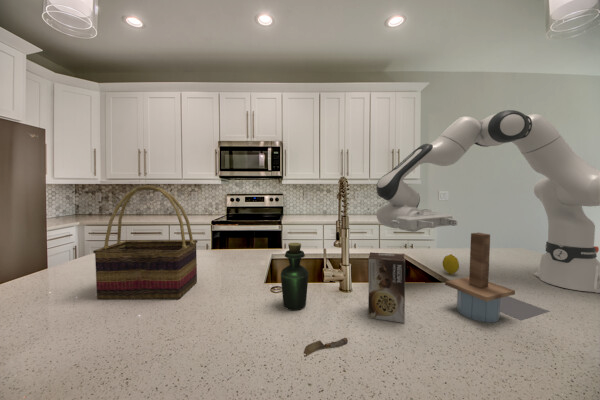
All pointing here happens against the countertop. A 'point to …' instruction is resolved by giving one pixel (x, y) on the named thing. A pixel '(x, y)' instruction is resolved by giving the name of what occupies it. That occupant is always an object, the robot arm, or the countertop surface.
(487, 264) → the wooden post on board
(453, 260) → the lemon
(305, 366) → the countertop surface
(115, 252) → the basket
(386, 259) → the coffee box
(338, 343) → the meat cleaver
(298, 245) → the potion bottle
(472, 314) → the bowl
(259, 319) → the countertop surface
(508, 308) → the mat
